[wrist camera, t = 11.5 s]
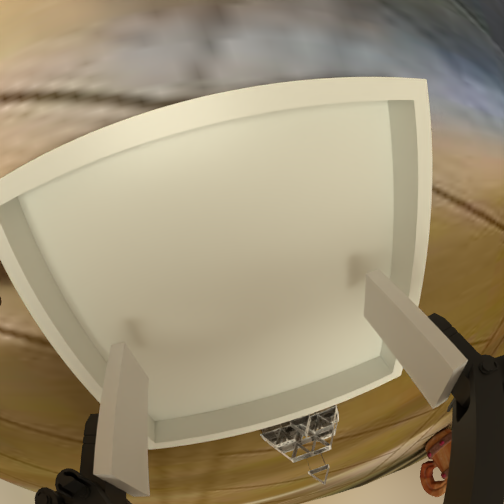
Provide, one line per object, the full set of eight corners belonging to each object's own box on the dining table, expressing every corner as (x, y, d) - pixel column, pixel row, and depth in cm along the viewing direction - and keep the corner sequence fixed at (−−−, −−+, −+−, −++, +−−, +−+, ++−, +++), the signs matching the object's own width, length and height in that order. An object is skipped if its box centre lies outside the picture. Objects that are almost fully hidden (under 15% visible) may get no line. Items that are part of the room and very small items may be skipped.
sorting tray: (148, 418, 20) (149, 449, 17) (7, 178, 10) (-26, 195, 8) (382, 350, 22) (400, 375, 19) (387, 80, 12) (426, 79, 9)
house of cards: (347, 356, 21) (393, 431, 15) (349, 405, 26) (380, 464, 19) (240, 396, 21) (263, 483, 14) (265, 437, 25) (286, 501, 18)
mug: (442, 426, 43) (473, 473, 30) (456, 420, 46) (485, 462, 33) (399, 462, 48) (423, 506, 35) (417, 455, 51) (440, 495, 38)
